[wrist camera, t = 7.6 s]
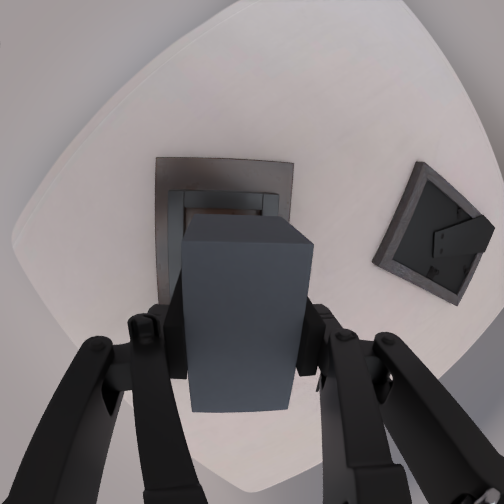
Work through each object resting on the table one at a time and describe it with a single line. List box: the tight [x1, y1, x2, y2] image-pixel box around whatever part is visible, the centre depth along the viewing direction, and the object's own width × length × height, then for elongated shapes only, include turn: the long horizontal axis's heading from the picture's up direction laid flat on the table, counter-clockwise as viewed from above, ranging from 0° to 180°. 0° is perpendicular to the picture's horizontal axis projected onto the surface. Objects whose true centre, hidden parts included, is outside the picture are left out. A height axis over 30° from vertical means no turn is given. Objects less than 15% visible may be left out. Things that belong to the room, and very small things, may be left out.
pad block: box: [181, 214, 314, 413], centre depth 15 cm, size 9×5×6 cm, turn 177°
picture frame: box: [372, 162, 495, 306], centre depth 31 cm, size 13×2×18 cm
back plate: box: [155, 157, 294, 305], centre depth 28 cm, size 20×13×2 cm, turn 177°
